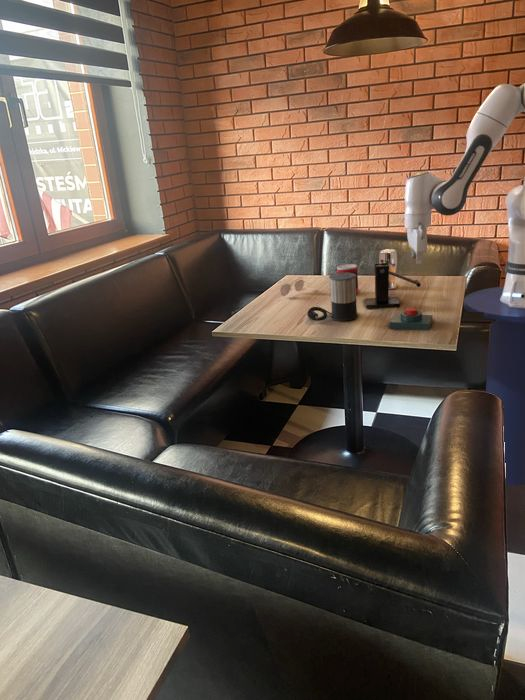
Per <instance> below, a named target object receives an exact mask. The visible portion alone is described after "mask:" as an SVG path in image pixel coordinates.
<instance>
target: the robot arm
mask: <svg viewBox="0 0 525 700" xmlns="http://www.w3.org/2000/svg"><path fill="white" fill-rule="evenodd" d="M519 114H523V115H525V82H523V83H522V84H521V85H519V86H515V85H513V84H509V83H502V84H499V85H497V86H495V87H494V89H493V90H492V91H491V92H490V93H489V95H488V96H487V97H486V98H485V100H484V101H483V102H482V104H481V105H480V107H479V108H478V109H477V111H476V113H475V115H474V116H473V118H472V120H471V122H470V124H469V126H468V129H467V131H466V135H465V136H466V147H465V152H464V154H463V156H462V157H461V160H460V161H459V163H458V165H457V166H456V168H455V170H454V172H453V173H452V175H451V177H450V178H449V179H448V180H447V179H443V178H440V177H438V176H436V175H433V174H432V173H431V172H430V171H422V172H418V173H414V174H411V175H410V176H409V177H408V178H407V179H406V182H405V188H404V189H405V190H404V204H405V211H404V228H405V229H406V236H407V243H408V244H409V246H410V248H411V258H412V259H413V260H415V263H416V265H422V264H423V257H424V254H426V253H427V252H428V232H427V231H428V228H430V227H431V226H432V210H435V211H436V212H437V213H438V214H439V215H442V216H448V217H449V216H454V215H456V214H458V213H459V212H460V211H462V209H463V208H464V207H465V205H466V201H467V197H468V192H469V188H470V186H471V185H472V183H473V181H474V179H475V177H476V175H477V174H478V172H479V170H480V169H481V167H482V165H483V164H484V162H485V160H486V159H487V157H489V155H490V153H491V152H492V151H493V149H494V148H496V146H497V144H498V143H499V142H500V141H501V139H502V138H503V137H504V135H505V133H506V132H507V130H508V129H509V128H510V126H511V124H512V122H513V121H514V120H515V118H516V117H517V116H518V115H519ZM505 208H506V215H507V226H508V227H507V228H508V238H509V239H508V252H507V260H506V262H505V263H506V264H505V271H504V273H505V281H504V285H503V287H504V289H503V293H502V295H501V298H500V301H501V302H503V303H505V304H507V305H508V306H509V307H513V308H525V178H524V179H523V184H521V185H517V186H515V187H513V188H512V189H510V191H509V192H507V195H506V197H505Z"/></svg>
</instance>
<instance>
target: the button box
mask: <svg viewBox="0 0 525 700" xmlns="http://www.w3.org/2000/svg"><path fill="white" fill-rule="evenodd" d="M433 316H434V315H433V314H423V312H422V311H421V310H417V315H406V310H404V311H401V313H394V315H393V316H392V318H391V319H390V321H389V329H390V330H391V329H392V330H411V331H412V330H413V331H429V330H430V329H431V326H432V324H433V318H434V317H433Z"/></svg>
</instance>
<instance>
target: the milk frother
mask: <svg viewBox="0 0 525 700" xmlns="http://www.w3.org/2000/svg"><path fill="white" fill-rule="evenodd" d="M355 277H356V274H353V273H333V274H331V275H329V276H328V279H329V288H330V301H331V302H330V303H331V312H329V311H328V310H326V309H325V308H323V307H320V306H312V307H310V308H309V309H308V310H307V313H306V316H307V318H308V319H309V320H312V321H314V322H315V321H316V322H318V321H324V320H325V319H327V317H328V314H329V315H331V317H330V318H331V319H332V320H335V321H341V322H345V321H353V320H355V319H356V318H358V316H359V315H358V309H357V294H356V279H355ZM316 311H317V312H321V313H322V314H323V315H322V316H320V317H319V313H317V312H316Z"/></svg>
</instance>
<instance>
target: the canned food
mask: <svg viewBox="0 0 525 700" xmlns="http://www.w3.org/2000/svg"><path fill="white" fill-rule="evenodd" d="M336 272H337V273H353V274H356V277H355V279H356V295H357V294H358V293H359V276H358V265H357V264H354V263H353V264H352V263H346V264H340V265H338V266H336ZM337 273H336V274H337Z"/></svg>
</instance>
